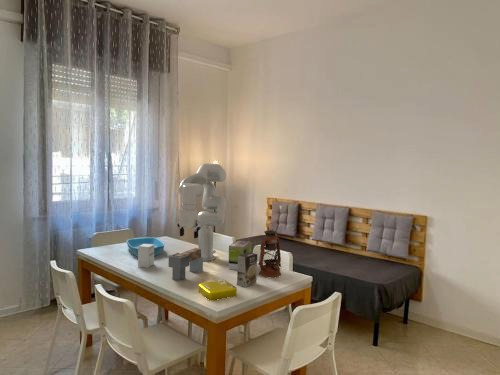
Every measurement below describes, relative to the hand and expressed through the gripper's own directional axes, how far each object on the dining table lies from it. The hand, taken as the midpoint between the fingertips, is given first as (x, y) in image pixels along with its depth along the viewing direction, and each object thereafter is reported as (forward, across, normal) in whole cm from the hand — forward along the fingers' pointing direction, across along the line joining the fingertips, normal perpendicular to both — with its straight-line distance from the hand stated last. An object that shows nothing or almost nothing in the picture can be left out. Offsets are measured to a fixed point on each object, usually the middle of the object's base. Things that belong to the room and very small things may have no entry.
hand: (188, 236), depth 208 cm
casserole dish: (+23, -55, +25) cm, 64 cm away
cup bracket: (+21, 0, -9) cm, 23 cm away
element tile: (+22, +30, -17) cm, 41 cm away
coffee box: (+22, +36, +2) cm, 42 cm away
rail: (+14, 0, -1) cm, 14 cm away
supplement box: (+22, -32, 0) cm, 39 cm away
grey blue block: (+22, 0, +7) cm, 23 cm away
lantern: (+22, +40, +24) cm, 52 cm away
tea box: (+22, +18, +28) cm, 40 cm away
